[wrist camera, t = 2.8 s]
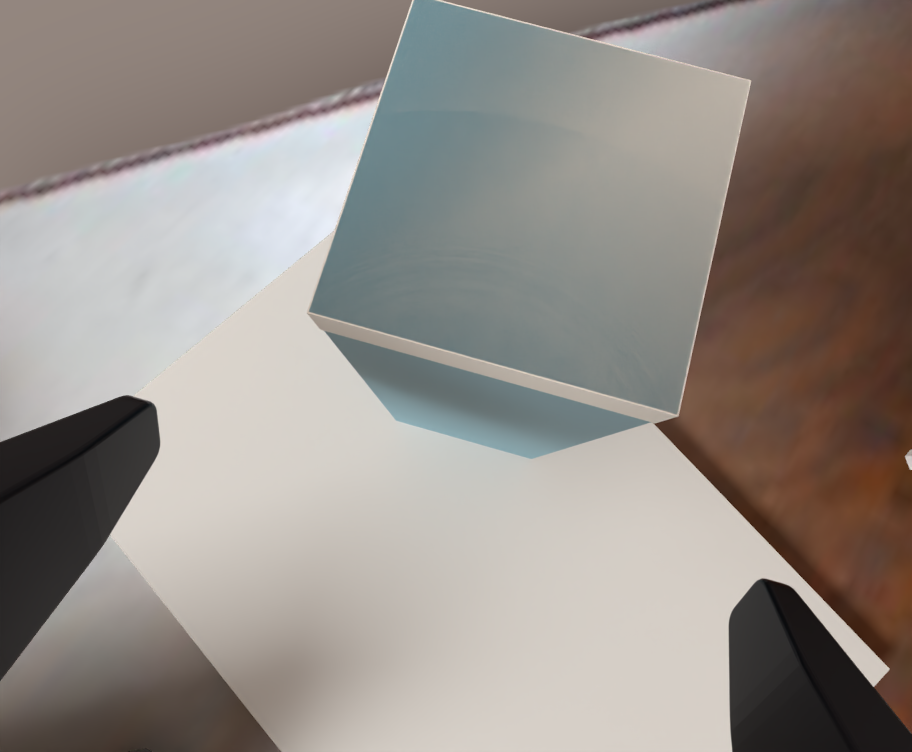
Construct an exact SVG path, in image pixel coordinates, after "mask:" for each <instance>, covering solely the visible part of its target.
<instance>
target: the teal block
mask: <svg viewBox="0 0 912 752" xmlns="http://www.w3.org/2000/svg"><path fill="white" fill-rule="evenodd" d="M750 84H751V80H747V79H743V78H740V77H736V76H732V75H728V74H724V73H720V72H716V71H712V70H709V69H705V68H701V67H697V66H693V65H689V64H685V63H681V62H678V61H674V60H670V59H666V58H662V57H658V56H654V55H650V54H647V53H643V52H639V51H635V50H631V49H627V48H623V47H619V46H616V45H612V44H608V43H604V42H600V41H596V40H592V39H588V38H585V37H581V36H577V35H573V34H569V33H565V32H561V31H557V30H554V29H550V28H546V27H541V26H538V25H534V24H530V23H526V22H523V21H518V20H515V19H511V18H507V17H503V16H499V15H495V14H491V13H488V12H484V11H479V10H476V9H472V8H468V7H464V6H460V5H456V4H453V3H449V2H445V1H441V0H412V3H411V6H410V9H409V12H408V15H407V18H406V21H405V24H404V27H403V29H402V33H401V35H400V38H399V41H398V45H397V47H396V51H395V53H394V56H393V59H392V62H391V65H390V68H389V71H388V74H387V77H386V80H385V83H384V86H383V89H382V92H381V95H380V97H379V100H378V103H377V106H376V109H375V112H374V115H373V118H372V121H371V124H370V127H369V130H368V133H367V136H366V139H365V142H364V145H363V148H362V151H361V154H360V157H359V160H358V163H357V165H356V168H355V171H354V174H353V177H352V180H351V183H350V186H349V189H348V192H347V195H346V198H345V201H344V204H343V207H342V210H341V213H340V216H339V219H338V222H337V225H336V228H335V230H334V233H333V236H332V239H331V242H330V245H329V248H328V251H327V254H326V257H325V260H324V263H323V266H322V269H321V272H320V275H319V278H318V281H317V284H316V287H315V290H314V293H313V296H312V298H311V301H310V304H309V307H308V310H307V314H308V315H309V316H310V318H311V319H312V320H313V321H314V322H315V324H316V325H317V326H318V327H319V329H320V330H323V331H325V333H326V334H327V335H328V336H329V338H330V339H331V340H332V341H333V343H334V344H335V345H336V346H337V348H338V349H339V350H340V351H341V353H342V354H343V355H344V356H345V358H346V359H347V360H348V361H349V363H350V364H351V365H352V366H353V368H354V369H355V370H356V371H357V373H358V374H359V375H360V376H361V378H362V379H363V380H364V381H365V383H366V384H367V385H368V386H369V388H370V389H371V390H372V391H373V393H374V394H375V395H376V396H377V398H378V399H379V400H380V401H381V402H382V404H383V405H384V406H385V407H386V409H387V410H388V411H389V412H390V414H391V415H392V416H393V417H394V419H395V420H396V421H399V422H402V423H406V424H409V425H413V426H416V427H420V428H424V429H427V430H431V431H434V432H438V433H441V434H445V435H448V436H452V437H455V438H459V439H462V440H466V441H469V442H473V443H476V444H480V445H483V446H487V447H490V448H494V449H498V450H501V451H505V452H508V453H512V454H515V455H519V456H522V457H526V458H529V459H533V458H536V457H540V456H543V455H546V454H550V453H553V452H556V451H559V450H563V449H566V448H569V447H572V446H576V445H579V444H582V443H585V442H589V441H592V440H595V439H598V438H602V437H605V436H608V435H612V434H615V433H618V432H621V431H625V430H628V429H631V428H634V427H638V426H641V425H644V424H647V423H651V422H652V423H658V422H662V421H665V420H668V419H672V418H675V417H678V416H679V411H680V406H681V402H682V397H683V393H684V388H685V383H686V379H687V374H688V370H689V365H690V360H691V356H692V351H693V347H694V342H695V337H696V333H697V328H698V324H699V319H700V314H701V310H702V305H703V300H704V296H705V291H706V287H707V282H708V277H709V273H710V268H711V264H712V259H713V254H714V250H715V245H716V241H717V236H718V231H719V227H720V222H721V218H722V213H723V208H724V204H725V199H726V194H727V190H728V185H729V181H730V176H731V171H732V167H733V162H734V158H735V153H736V148H737V144H738V139H739V135H740V130H741V125H742V121H743V116H744V112H745V107H746V102H747V98H748V93H749V89H750Z"/></svg>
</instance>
